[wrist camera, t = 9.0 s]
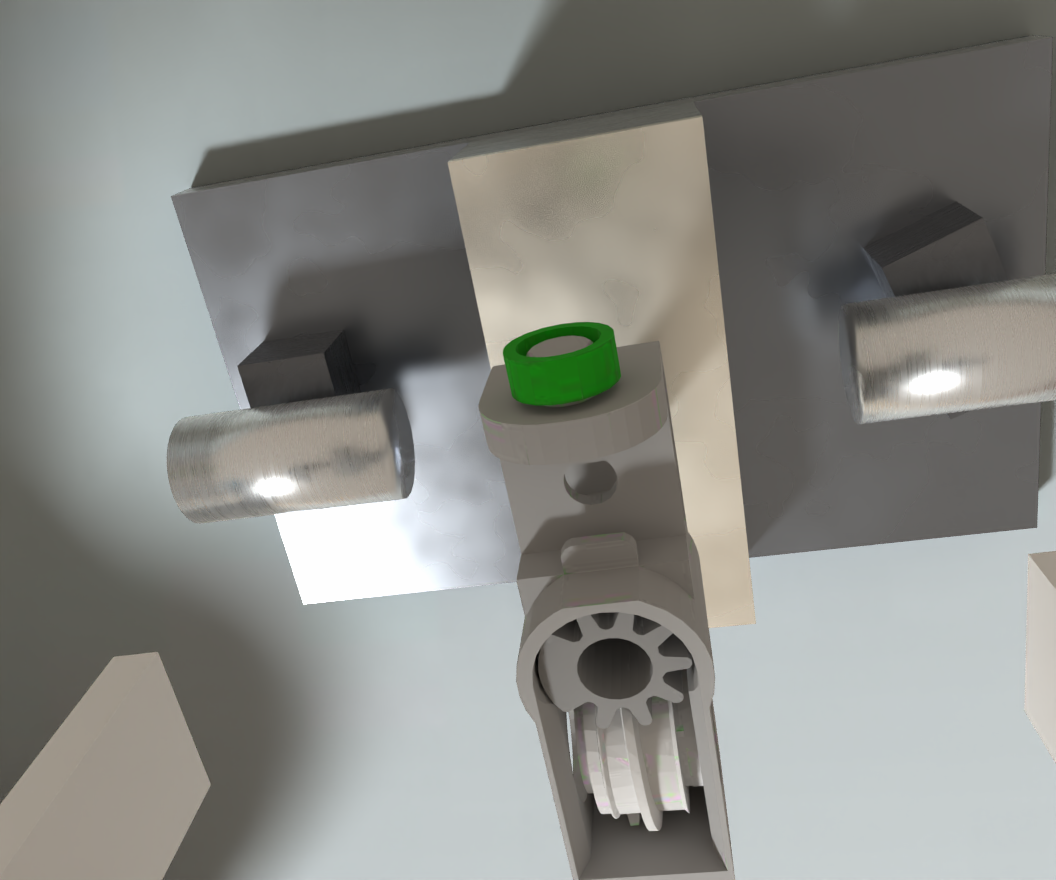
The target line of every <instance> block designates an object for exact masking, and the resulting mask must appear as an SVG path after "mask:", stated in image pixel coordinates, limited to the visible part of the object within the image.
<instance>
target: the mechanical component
mask: <svg viewBox="0 0 1056 880" xmlns="http://www.w3.org/2000/svg"><path fill="white" fill-rule="evenodd" d="M503 358H504V362H505V364H504V365H497V366H493V368H492V369H491V371H490V374H489V377H488V379H487V382H486V385H485V387H484V390H483V393H482V396H481V398H480V401H479V407H478V408H479V412H480V416H481V420H482V425H483V429H484V433H485V437H486V441H487V445H488V448H489V451H490V452H491V453H492V454H493V455H494V456H496V457H498V458H499V459H500V463H501V467H502V472H503V476H504V480H505V485H506V489H507V494H508V498H509V502H510V507H511V511H512V516H513V520H514V524H515V529H516V533H517V538H518V542H519V546H520V551H521V558H520V563H519V569H518V574H517V579H516V581H517V585H518V589H519V593H520V597H521V602H522V606H523V610H524V614H525V620H524V626H523V632H522V637H521V643H520V649H519V655H518V661H517V674H516V682H517V687H518V691H519V696H520V698H521V700H522V703H523V705H524V707H525V709H526V711H527V712H528V714H529V715H530V716H531V718H532V719H533V720H534V722H535V723H536V727H537V731H538V735H539V739H540V743H541V748H542V752H543V756H544V760H545V764H546V768H547V773H548V777H549V781H550V785H551V789H552V793H553V798H554V802H555V806H556V810H557V814H558V818H559V823H560V827H561V831H562V835H563V839H564V843H565V848H566V852H567V856H568V860H569V864H570V868H571V873H572V877H573V880H735V875H734V867H733V859H732V850H731V842H730V834H729V825H728V817H727V809H726V801H725V794H724V785H723V777H722V769H721V760H720V752H719V745H718V737H717V729H716V722H715V715H714V707H713V700H712V698H713V695H714V686H715V673H714V666H713V658H712V650H711V642H710V635H709V627H708V619H707V611H706V604H705V596H704V588H703V581H702V573H701V565H700V558H699V554H698V550H697V547H696V545H695V543H694V541H693V538H692V537H691V535H690V534H689V532H688V529H687V522H686V515H685V508H684V501H683V495H682V488H681V481H680V474H679V467H678V461H677V454H676V447H675V440H674V433H673V426H672V420H671V413H670V406H669V399H668V392H667V386H666V379H665V372H664V366H663V359H662V353H661V347H660V342H659V341H654V342H647V343H641V344H634V345H627V346H621V347H616V341H615V335H614V330H613V329H612V328H611V327H610V326H609V325H606V324H602V323H596V322H574V323H565V324H559V325H554V326H549V327H545V328H541V329H538V330H535V331H532V332H529V333H526V334H524V335H522V336H520V337H518V338H516V339H514V340H512V341H511V342H510V343H508V344H507V345H506V346H505V347H504V349H503ZM566 712H569V718H570V726H571V736H572V749H573V771H572V766H571V759H570V752H569V743H568V733H567V718H566Z"/></svg>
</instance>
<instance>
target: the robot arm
mask: <svg viewBox="0 0 1056 880" xmlns="http://www.w3.org/2000/svg"><path fill="white" fill-rule="evenodd" d="M1024 711H1025V713H1026V715H1027V716H1028V718H1029V720H1030V721H1031V723H1032V725H1033V726H1034V728H1035V730H1036V731H1037V733H1038V735H1039V736H1040V738H1041V740H1042V741H1043V743H1044V745H1045V746H1046V748H1047V750H1048V751H1049V753H1050V755H1051V756H1052V758H1053V760H1054V761H1055V763H1056V551H1051V552H1042V553H1034V554H1028V584H1027V625H1026V666H1025V707H1024ZM210 786H211V784H210V781H209V779H208V776H207V773H206V771H205V768H204V766H203V763H202V761H201V758H200V756H199V753H198V751H197V748H196V746H195V743H194V741H193V738H192V736H191V733H190V731H189V728H188V726H187V723H186V721H185V718H184V716H183V713H182V711H181V708H180V706H179V703H178V701H177V698H176V696H175V693H174V691H173V688H172V686H171V683H170V681H169V678H168V676H167V673H166V671H165V668H164V666H163V663H162V661H161V658H160V656H159V653H158V652H151V653H142V654H133V655H124V656H115V657H113V658H112V659H111V661H110V662H109V663H108V665H107V666H106V667H105V668H104V670H103V671H102V672H101V674H100V675H99V676H98V678H97V679H96V680H95V682H94V683H93V684H92V685H91V687H90V688H89V689H88V691H87V692H86V693H85V695H84V696H83V697H82V698H81V700H80V701H79V702H78V704H77V705H76V706H75V708H74V709H73V710H72V712H71V713H70V714H69V715H68V717H67V718H66V719H65V721H64V722H63V723H62V725H61V726H60V727H59V728H58V730H57V731H56V732H55V734H54V735H53V736H52V738H51V739H50V740H49V741H48V743H47V744H46V745H45V747H44V748H43V749H42V751H41V752H40V753H39V755H38V756H37V757H36V758H35V760H34V761H33V762H32V764H31V765H30V766H29V768H28V769H27V770H26V771H25V773H24V774H23V775H22V777H21V778H20V779H19V781H18V782H17V783H16V784H15V786H14V787H13V788H12V790H11V791H10V792H9V794H8V795H7V796H6V798H5V799H4V800H3V801H2V803H1V804H0V880H162V879H163V877H164V876H165V874H166V872H167V870H168V868H169V866H170V864H171V862H172V860H173V858H174V856H175V854H176V852H177V850H178V848H179V846H180V844H181V842H182V840H183V839H184V837H185V835H186V833H187V831H188V829H189V827H190V825H191V823H192V821H193V819H194V817H195V815H196V813H197V811H198V809H199V807H200V805H201V803H202V801H203V800H204V798H205V796H206V794H207V792H208V790H209V788H210Z"/></svg>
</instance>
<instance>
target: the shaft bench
mask: <svg viewBox="0 0 1056 880" xmlns="http://www.w3.org/2000/svg"><path fill="white" fill-rule="evenodd" d="M1052 43H1053V37H1047V36H1036V35H1031V36H1026V37H1020V38H1015V39H1009V40H1004V41H998V42H993V43H987V44H982V45H976V46H971V47H965V48H960V49H954V50H949V51H943V52H938V53H932V54H927V55H921V56H916V57H910V58H905V59H899V60H894V61H888V62H883V63H877V64H872V65H866V66H861V67H855V68H850V69H844V70H839V71H833V72H828V73H822V74H817V75H811V76H805V77H800V78H794V79H789V80H783V81H778V82H772V83H767V84H761V85H756V86H750V87H745V88H739V89H734V90H728V91H723V92H717V93H712V94H706V95H701V96H695V97H690V98H684V99H679V100H673V101H668V102H662V103H657V104H651V105H646V106H640V107H635V108H629V109H624V110H618V111H613V112H607V113H602V114H596V115H591V116H585V117H580V118H574V119H568V120H563V121H557V122H552V123H546V124H541V125H535V126H530V127H524V128H519V129H513V130H508V131H502V132H497V133H491V134H486V135H480V136H475V137H469V138H464V139H458V140H453V141H447V142H442V143H436V144H431V145H425V146H420V147H414V148H409V149H403V150H398V151H392V152H387V153H381V154H376V155H370V156H365V157H359V158H354V159H348V160H343V161H337V162H332V163H326V164H320V165H315V166H309V167H304V168H298V169H293V170H287V171H282V172H276V173H271V174H265V175H260V176H254V177H249V178H243V179H238V180H232V181H227V182H221V183H216V184H210V185H205V186H199V187H194V188H189V189H187V190H184V191H182V192H180V193H177V194H175V195H173V196H171V198H172V201H173V204H174V207H175V210H176V213H177V216H178V219H179V222H180V226H181V229H182V232H183V235H184V238H185V241H186V244H187V247H188V250H189V253H190V256H191V259H192V262H193V266H194V269H195V272H196V275H197V278H198V281H199V284H200V287H201V290H202V293H203V296H204V299H205V302H206V306H207V309H208V312H209V315H210V318H211V321H212V324H213V327H214V330H215V333H216V336H217V339H218V342H219V346H220V349H221V352H222V355H223V358H224V361H225V364H226V367H227V370H228V373H229V376H230V379H231V382H232V386H233V389H234V392H235V395H236V398H237V401H238V404H239V407H240V410H233V411H226V412H219V413H212V414H205V415H198V416H191V417H185V418H183V419H181V420H180V421H178V423H177V424H176V425H175V427H174V428H173V430H172V432H171V435H170V438H169V443H168V449H167V471H168V478H169V483H170V487H171V490H172V493H173V496H174V499H175V501H176V503H177V505H178V507H179V508H180V510H181V511H182V513H183V514H184V515H185V516H186V517H187V518H188V519H189V520H191V521H192V522H195V523H199V524H201V523H209V522H218V521H226V520H234V519H242V518H251V517H259V516H267V515H275V518H276V521H277V524H278V527H279V530H280V533H281V536H282V539H283V542H284V545H285V549H286V552H287V555H288V558H289V561H290V564H291V567H292V570H293V573H294V576H295V579H296V582H297V585H298V589H299V592H300V595H301V598H302V601H303V604H311V603H320V602H330V601H339V600H349V599H358V598H368V597H378V596H387V595H397V594H406V593H416V592H425V591H435V590H445V589H454V588H464V587H473V586H483V585H492V584H502V583H511V582H517V581H516V579H517V574H518V569H519V563H520V558H521V551H520V546H519V542H518V538H517V533H516V529H515V524H514V520H513V516H512V511H511V507H510V502H509V498H508V494H507V489H506V485H505V480H504V476H503V472H502V467H501V463H500V459H499V458H498V457H496V456H494V455H493V454H492V453H491V452H490V451H489V448H488V445H487V441H486V437H485V433H484V429H483V425H482V420H481V416H480V412H479V408H478V407H479V401H480V398H481V396H482V393H483V390H484V387H485V385H486V382H487V379H488V377H489V374H490V371H491V369H492V368H493V366H497V365H504V364H505V362H504V358H503V349H504V347H505V346H506V345H507V344H508V343H510V342H511V341H512V340H514V339H516V338H518V337H520V336H522V335H524V334H526V333H529V332H532V331H535V330H538V329H541V328H545V327H549V326H554V325H559V324H565V323H574V322H596V323H602V324H606V325H609V326H610V327H611V328H612V329H613V330H614V335H615V341H616V347H621V346H627V345H634V344H641V343H647V342H654V341H659V342H660V347H661V353H662V359H663V366H664V372H665V379H666V386H667V392H668V399H669V406H670V413H671V420H672V426H673V433H674V440H675V447H676V454H677V461H678V467H679V474H680V481H681V488H682V495H683V501H684V508H685V515H686V522H687V529H688V532H689V534H690V535H691V537H692V538H693V541H694V543H695V545H696V547H697V550H698V554H699V558H700V565H701V573H702V581H703V588H704V596H705V604H706V611H707V619H708V627H709V628H715V627H725V626H736V625H747V624H756V620H755V611H754V601H753V592H752V582H751V573H750V563H749V558H751V557H760V556H770V555H779V554H789V553H798V552H808V551H817V550H827V549H837V548H846V547H856V546H865V545H875V544H884V543H894V542H903V541H913V540H923V539H932V538H942V537H951V536H961V535H970V534H980V533H990V532H999V531H1009V530H1018V529H1028V528H1037V513H1038V482H1039V451H1040V419H1041V402H1043V401H1051V400H1056V274H1049V275H1045V262H1046V231H1047V200H1048V168H1049V137H1050V106H1051V74H1052Z"/></svg>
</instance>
